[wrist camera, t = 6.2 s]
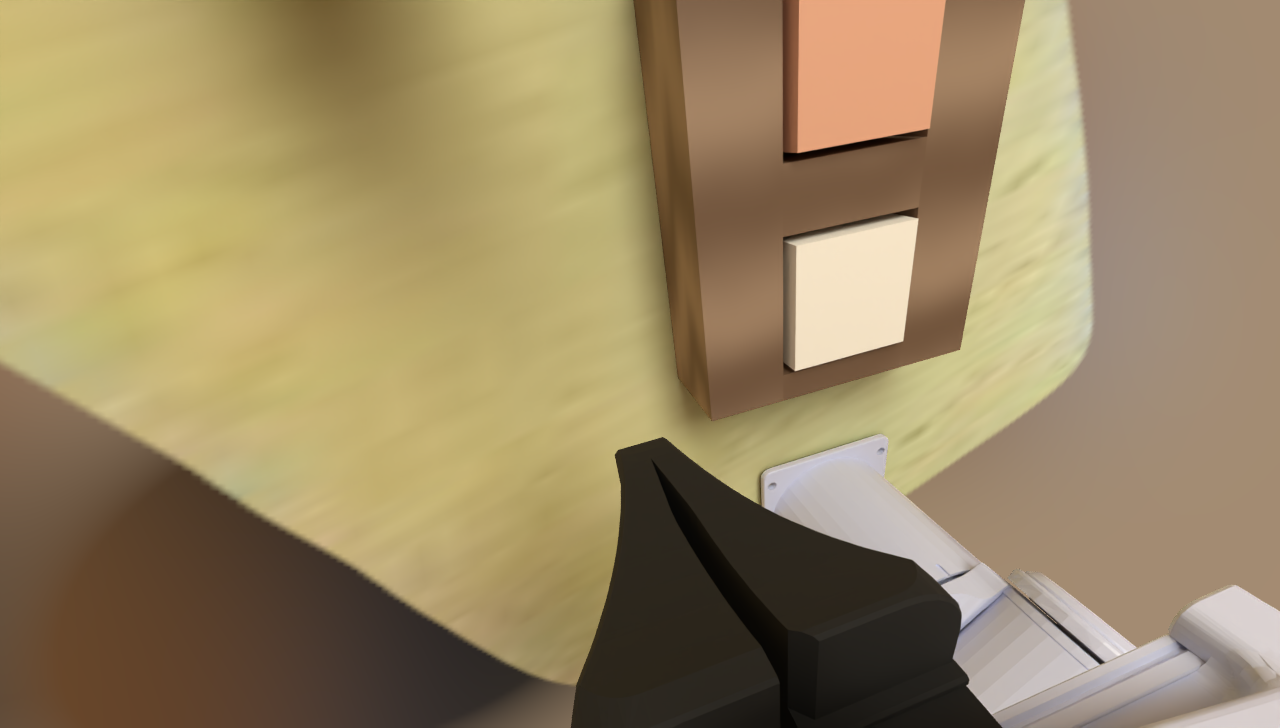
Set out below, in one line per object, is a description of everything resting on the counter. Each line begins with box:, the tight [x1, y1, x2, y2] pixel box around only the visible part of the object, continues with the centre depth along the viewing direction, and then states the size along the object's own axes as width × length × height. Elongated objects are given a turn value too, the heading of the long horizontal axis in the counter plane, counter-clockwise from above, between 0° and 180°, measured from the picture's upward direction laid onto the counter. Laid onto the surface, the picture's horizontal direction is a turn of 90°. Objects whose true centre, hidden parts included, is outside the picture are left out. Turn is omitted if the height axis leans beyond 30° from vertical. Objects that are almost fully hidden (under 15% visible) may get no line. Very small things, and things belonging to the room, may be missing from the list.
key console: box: [634, 0, 1025, 421], centre depth 19 cm, size 16×12×4 cm
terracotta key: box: [782, 0, 946, 153], centre depth 16 cm, size 5×5×2 cm
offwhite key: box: [783, 213, 918, 371], centre depth 20 cm, size 5×5×2 cm
